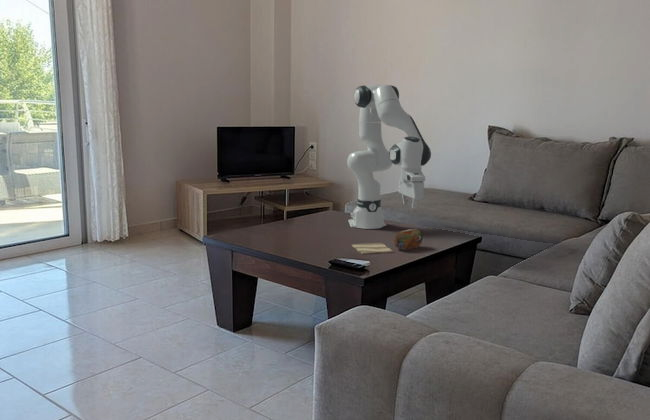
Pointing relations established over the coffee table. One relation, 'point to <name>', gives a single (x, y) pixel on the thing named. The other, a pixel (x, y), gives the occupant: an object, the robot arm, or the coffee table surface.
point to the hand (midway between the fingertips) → (409, 206)
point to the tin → (408, 239)
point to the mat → (372, 248)
